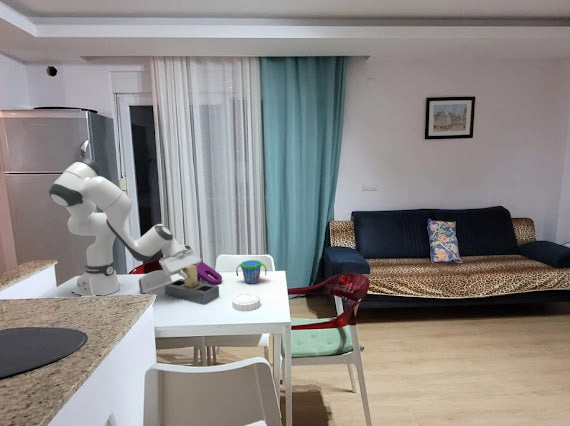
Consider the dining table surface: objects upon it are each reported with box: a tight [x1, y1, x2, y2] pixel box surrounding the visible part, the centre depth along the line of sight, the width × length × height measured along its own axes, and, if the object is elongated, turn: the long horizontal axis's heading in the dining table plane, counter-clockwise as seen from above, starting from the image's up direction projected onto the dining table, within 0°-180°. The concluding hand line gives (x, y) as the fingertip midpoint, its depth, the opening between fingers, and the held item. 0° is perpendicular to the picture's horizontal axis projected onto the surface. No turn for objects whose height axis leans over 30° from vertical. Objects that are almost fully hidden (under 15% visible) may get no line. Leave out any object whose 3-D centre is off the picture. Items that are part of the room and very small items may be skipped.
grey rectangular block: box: [164, 278, 220, 305], centre depth 162 cm, size 24×10×5 cm, turn 61°
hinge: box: [137, 269, 174, 295], centre depth 172 cm, size 17×5×10 cm, turn 144°
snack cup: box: [235, 259, 267, 285], centre depth 179 cm, size 16×10×10 cm
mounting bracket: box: [196, 260, 223, 286], centre depth 181 cm, size 10×8×18 cm
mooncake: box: [231, 293, 261, 312], centre depth 150 cm, size 12×12×4 cm
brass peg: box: [183, 265, 198, 289], centre depth 160 cm, size 4×4×10 cm
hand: (191, 276), depth 160 cm, fingers closed on brass peg, 4 cm apart
